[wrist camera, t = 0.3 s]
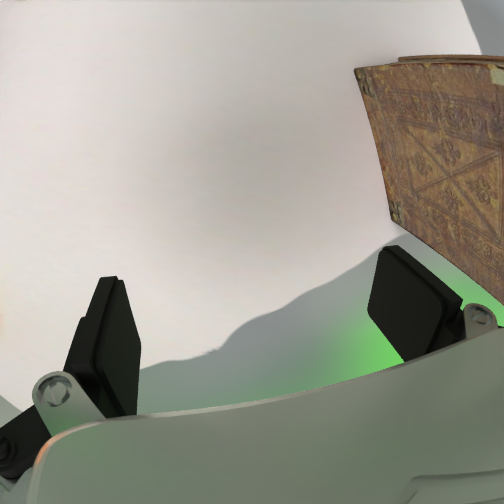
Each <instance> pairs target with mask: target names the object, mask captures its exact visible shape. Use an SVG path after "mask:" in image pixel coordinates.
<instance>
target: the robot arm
mask: <svg viewBox="0 0 504 504" xmlns="http://www.w3.org/2000/svg"><path fill="white" fill-rule="evenodd" d="M462 301H463V299H462V298H461V297H460V296H459V295H457V294H456V293H455V292H454V291H453V290H452V289H451V288H449V287H448V286H447V285H446V284H445V283H444V282H443V281H441V280H440V279H439V278H438V277H437V276H435V275H434V274H433V273H432V272H431V271H429V270H428V269H427V268H426V267H425V266H423V265H422V264H421V263H420V262H418V261H417V260H416V259H415V258H413V257H412V256H411V255H410V254H409V253H407V252H406V251H405V250H404V249H402V248H401V247H400V246H398V245H394V246H385V247H383V249H382V251H380V252H379V255H378V261H377V266H376V271H375V276H374V281H373V285H372V290H371V294H370V299H369V303H368V309H367V311H368V314H369V316H370V318H371V319H372V320H373V321H374V323H375V324H376V325H377V326H378V328H379V329H380V330H381V332H382V333H383V334H384V336H385V337H386V338H387V339H388V341H389V342H390V343H391V345H392V346H393V347H394V349H395V350H396V351H397V353H398V354H399V355H400V356H401V358H402V359H403V361H404V363H402V364H398V365H395V366H393V367H389V368H386V369H383V370H380V371H377V372H374V373H370V374H367V375H364V376H360V377H357V378H354V379H350V380H346V381H343V382H339V383H335V384H331V385H328V386H323V387H319V388H315V389H311V390H306V391H303V392H298V393H293V394H289V395H283V396H279V397H273V398H268V399H263V400H257V401H251V402H246V403H239V404H232V405H225V406H218V407H210V408H202V409H195V410H186V411H176V412H165V413H153V414H142V415H137V397H138V381H139V369H140V357H141V342H140V338H139V335H138V331H137V328H136V325H135V321H134V318H133V314H132V311H131V307H130V304H129V300H128V296H127V292H126V288H125V284H124V281H123V280H118V278H117V276H110V277H101V278H100V279H99V282H98V284H97V287H96V289H95V292H94V294H93V297H92V300H91V302H90V305H89V308H88V310H87V313H86V316H85V317H82V318H81V319H80V321H79V324H78V326H77V329H76V332H75V335H74V338H73V341H72V344H71V347H70V350H69V353H68V356H67V359H66V362H65V366H64V369H63V372H62V371H56V372H51V373H49V374H46V375H44V376H43V377H42V378H40V379H39V380H38V382H37V383H36V384H35V386H34V388H33V391H32V399H33V402H34V405H33V406H31V407H30V408H28V409H27V410H25V411H24V412H23V413H21V414H20V415H18V416H17V417H15V418H14V419H13V420H11V421H10V422H8V423H7V424H5V425H4V426H3V427H1V428H0V504H504V327H502V326H498V324H497V320H496V317H495V315H494V314H493V312H492V311H491V310H490V309H488V308H487V307H485V306H483V305H480V304H476V303H471V304H467V305H466V306H465V307H464V309H463V311H462V310H461V309H460V307H461V304H462Z"/></svg>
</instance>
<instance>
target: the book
mask: <svg viewBox="0 0 504 504" xmlns="http://www.w3.org/2000/svg"><path fill="white" fill-rule="evenodd" d="M354 73H355V76H356V79H357V82H358V85H359V88H360V91H361V95H362V98H363V101H364V104H365V108H366V111H367V114H368V118H369V121H370V125H371V129H372V132H373V136H374V140H375V144H376V148H377V152H378V156H379V160H380V165H381V169H382V174H383V178H384V183H385V188H386V193H387V198H388V203H389V209H390V215H391V220H392V221H393V222H395V223H396V224H398V225H399V226H401V227H402V228H404V229H405V230H407V231H408V232H410V233H411V234H412V235H414V236H415V237H417V238H418V239H420V240H421V241H422V242H424V243H425V244H427V245H428V246H429V247H431V248H432V249H433V250H435V251H436V252H438V253H439V254H440V255H442V256H443V257H444V258H446V259H447V260H448V261H450V262H451V263H452V264H453V265H455V266H456V267H457V268H459V269H460V270H461V271H462V272H464V273H465V274H466V275H467V276H469V277H470V278H471V279H472V280H474V281H475V282H476V283H477V284H479V285H480V286H481V287H482V288H484V289H485V290H486V291H487V292H488V293H490V294H491V295H492V296H493V297H494V298H495V299H497V300H498V301H499V302H500V303H501V304H502V305H504V57H503V56H488V55H421V56H406V57H399V62H396V63H391V64H386V65H379V66H369V67H361V68H355V69H354Z"/></svg>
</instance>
